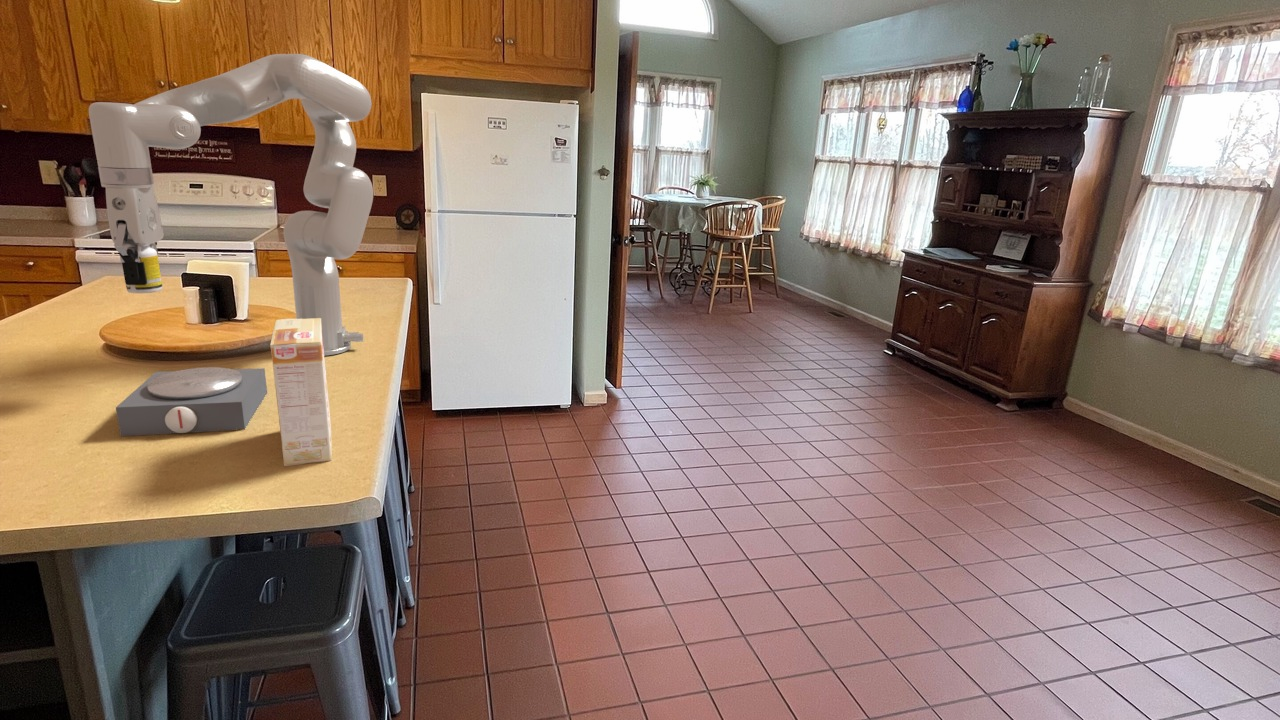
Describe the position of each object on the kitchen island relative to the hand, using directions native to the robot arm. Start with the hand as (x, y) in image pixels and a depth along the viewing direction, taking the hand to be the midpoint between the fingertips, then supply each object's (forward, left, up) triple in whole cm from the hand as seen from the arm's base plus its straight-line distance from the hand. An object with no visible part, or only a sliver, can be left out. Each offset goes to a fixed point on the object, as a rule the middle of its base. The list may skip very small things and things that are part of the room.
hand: (143, 280), depth 126 cm
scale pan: (-10, +13, -16) cm, 23 cm away
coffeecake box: (-30, +30, -22) cm, 47 cm away
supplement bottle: (0, 0, -2) cm, 2 cm away
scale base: (-10, +13, -21) cm, 27 cm away
